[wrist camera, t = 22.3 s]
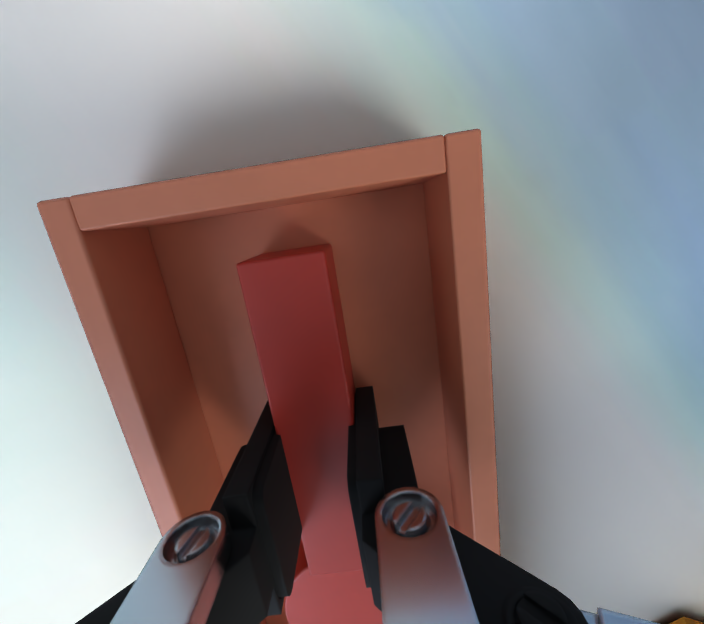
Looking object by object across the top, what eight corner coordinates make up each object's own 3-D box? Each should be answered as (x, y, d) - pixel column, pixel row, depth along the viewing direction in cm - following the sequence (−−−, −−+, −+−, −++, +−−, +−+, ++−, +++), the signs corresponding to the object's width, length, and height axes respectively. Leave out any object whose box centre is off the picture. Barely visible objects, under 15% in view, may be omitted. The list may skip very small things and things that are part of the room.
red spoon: (374, 235, 10) (379, 241, 7) (422, 594, 13) (435, 668, 11) (218, 260, 10) (181, 271, 8) (306, 606, 13) (296, 681, 11)
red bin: (261, 637, 14) (239, 743, 12) (127, 205, 10) (33, 201, 7) (476, 615, 14) (509, 719, 11) (442, 153, 9) (482, 126, 7)
